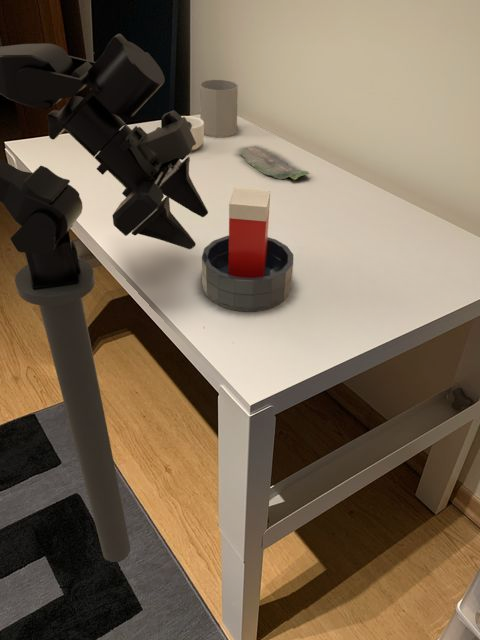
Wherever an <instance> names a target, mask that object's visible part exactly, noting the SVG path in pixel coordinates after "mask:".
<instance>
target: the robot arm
mask: <svg viewBox="0 0 480 640" xmlns="http://www.w3.org/2000/svg"><path fill="white" fill-rule="evenodd" d="M165 79H166V78H165V75H164V73H163V71H162V69H161V67H160V65H158V63H157V61H155V59H154V58H153V57H152V56H151V54H150V53H149V52H147V51H144V50H143V49H142V48H141V47H139V46H138V45H136V44H135V43H133V42H132V41H128V40H127V39H126V38H125V36H124V35H122V33H117V34H116V35H114V36H113V37H112V38H111V39H110V41H109V42H108V43H107V45H106V46H105V49H104V50H103V52H102V54H101V55H100V56H99V57H98V59H97V60H96V61H94V60H91V59H85V58H81V57H76V56H72V55H69V54H68V53H67V51H66V50H65V49H64V48H63V47H61V46H60V45H57V44H54V43H21V44H11V45H5V46H4V45H3V46H0V95H1V96H3V97H5V98H6V99H8V100H9V101H12V102H15V103H18V104H21V105H23V106H27V107H29V108H32V109H35V110H49V109H51V108H52V107H55V105H56V104H57V103H59V102H60V101H61V100H63V99H68V98H70V99H69V100H68V101H67V102H66V104H64V106H63V107H62V108H61V109H60V110H57V109H53V110H52V111H50V112H49V113H48V114H47V115H46V116H45V118H46V120H47V121H48V122H47V123H48V137H49V139H50V140H52V141H53V140H56V139H57V138H58V137H59V136H60V135H61V134H62V133H64V131H66V133H68V134H69V135H70V136H71V137H72V138H73V139H74V140H75V141H76V142H77V143H78V144H79V145H80V146H81V147H82V148H84V149H85V151H87V153H88V154H90V156H92V158H94V159H95V160H96V161H97V162H98V163H99V165H98V166H97V167H96V170H97V171H98V172H99V173H100V174H101V175H102V176H103V175H104V174H106V172H108V173H109V174H111V176H112V177H113V178H114V179H115V180H117V181H118V182H119V184H121V185H122V187H124V190H123V191H122V193H121V194H122V195H123V196H124V197H125V198H124V199H123V200H122V201H121V202H120V203H119V205H118V206H117V207H116V209H115V210H114V212H113V214H112V223H113V226H114V227H115V228H116V229H117V230H118V231H119V232H120V233H121V234H122V235H123V236H125V237H127V236H129V234H132V235H133V236H138V235H141V236H145V237H150V238H153V239H156V240H159V241H163V242H166V243H170V244H172V245H175V246H178V247H180V248H183V249H186V250H193V248H194V247H196V245H197V244H196V242H195V240H194V239H193V238H192V236H191V235H190V234H189V232H188V231H187V230H186V229H185V227H184V226H183V225H182V224H181V223H180V221H179V220H178V219H177V218H176V217H175V216H174V215H173V213H172V212H171V205H170V199H171V200H172V201H173V202H175V203H177V204H178V205H180V206H182V207H184V208H185V209H187V210H188V211H190V212H191V213H193V214H195V215H197V216H199V217H201V218H205V217H206V216H207V215H208V214H209V210H208V208H207V207H206V205H205V203H204V202H203V200H202V197H201V195H200V194H199V192H198V190H197V188H196V186H195V185H194V183H193V181H192V178H191V176H190V162H191V158H190V156H189V155H190V154H191V153H192V152H193V151H192V147H193V145H195V144H196V142H195V140H194V137H193V135H192V133H191V131H190V129H191V128H192V124H191V123H190V122H187V120H186V118H185V117H183V118H182V117H181V116H182V115H180V114H179V113H178V112H177V111H176V110H174V109H173V110H171V111H169V112H166V113H164V114H163V115H162V117H161V119H160V125H161V127H160V126H158V127H156V129H154V130H152V131H150V132H148V133H147V132H146V131H145V130H144V129H143V128H142V127H141V126H137V125H135V126H134V127H133V128H131V127H130V126H129V125H128V124H126V122H124V120H123V119H122V118H121V116H122V115H123V116H125V117H134V116H135V115H136V114H137V113H138V111H139V110H140V109H141V108H142V107H143V106H144V105H145V104H146V103H147V102H148V101H149V100H150V98H151V97H152V96H153V95H154V94H155V93H156V92H157V91H158V90H159V89H160V88H161V87H162V86H163V85H164V83H165V81H166V80H165ZM86 87H89V88H90V90H89V92H88V93H87V94H86V95H85V96H84V97H83V96H78V95H77V94H78V93H80V92H81V91H82V90H83V89H85V88H86ZM70 182H71V180H70V179H67V178H65V177H64V178H63V177H61V176H59V175H57V174H56V173H55V172H53V170H50V169H49V168H48V167H46V166H43V165H39V166H38V168H36V169H35V170H34V171H33V172H31V171H25V170H20V169H18V168H17V167H15V166H13V165H11V164H10V163H8V162H7V161H5V160H3V159H1V158H0V203H1V204H2V205H3V206H4V207H5V209H6V210H7V212H8V213H9V214H10V216H11V217H12V219H13V220H14V222H15V223H16V224H18V225H20V227H19V228H18V229H17V230H16V231H15V232H14V233H13V235H12V236H11V237H10V242H11V243H12V244H13V246H14V248H15V249H16V251H17V252H18V253H23V254H24V255H25V259H26V262H27V265H28V267H29V271H30V275H31V286H32V289H33V290H37V289H44V288H52V287H59V286H66V285H73V284H78V283H79V278H78V274H80V273H81V270H80V265H79V260H78V258H79V254H78V250H77V245H76V241H75V240H71V236H70V231H69V230H70V229H72V228H73V226H74V224H75V223H76V221H77V220H78V219H79V217H80V216H81V215H82V212H83V201H82V199H81V196H80V193H79V192H78V190H77V189H76V188H74V187H73V186H72V185H70Z"/></svg>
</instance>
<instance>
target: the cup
mask: <svg viewBox="0 0 480 640" xmlns="http://www.w3.org/2000/svg"><path fill="white" fill-rule="evenodd" d="M238 89H239V85H238V84H237V83H236V82H234V81H231V80H224V79H209V80H204V81H201V82H200V83H199V109H200V111H199V113H200V115H199V116H200V117H199V118H200V119H202V120H203V122H204V135H206V136H209V137H214V138H227V137H232V136H233V135H236V134H237V131H238V97H239V96H238V95H239V93H238Z"/></svg>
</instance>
